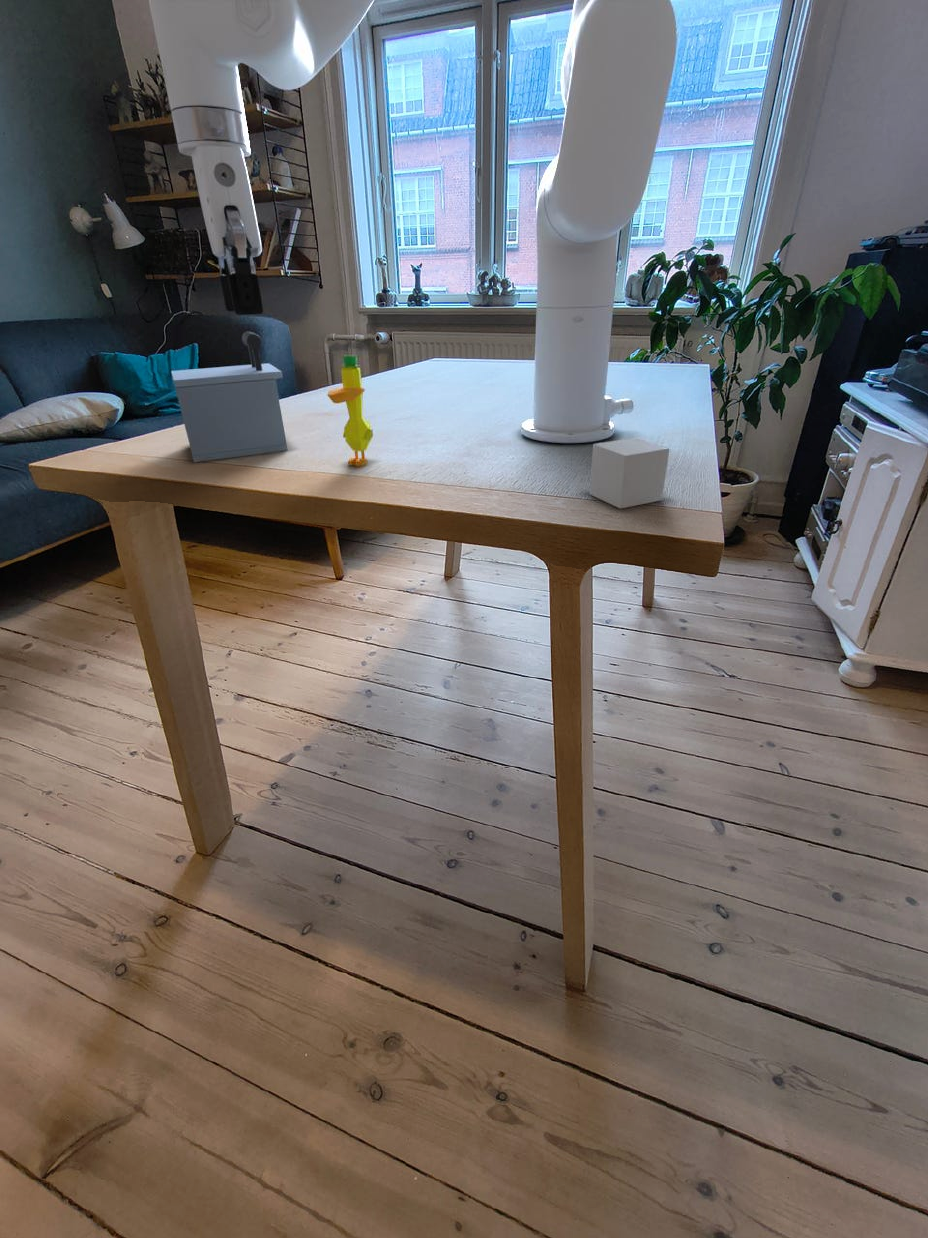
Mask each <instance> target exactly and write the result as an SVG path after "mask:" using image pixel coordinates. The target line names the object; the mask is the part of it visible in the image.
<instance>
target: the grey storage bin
mask: <svg viewBox="0 0 928 1238" xmlns="http://www.w3.org/2000/svg"><path fill="white" fill-rule="evenodd" d="M174 389H175V393H176V397H177V401H178V404H179V405H178V406H179V409H180V412H181V416H182V420H183V424H184V428H185V432H186V436H187V440H188V444H189V447H190V451H191V452H190V453H191V456H192V460H193V462H194V463H199V462H208V461H217V460H222V459H229V458H238V457H239V458H240V457H245V456H246V457H247V456H253V455H263V454H269V453H270V454H271V453H277V452H286V451H288V444H287V438H286V432H285V427H284V426H285V425H284V421H283V415H282V409H281V404H280V398H279V392H278V386H277V380H276V379H266V380H255V381H243V382H232V383H220V384H209V385H198V386H186V387H175V386H174Z"/></svg>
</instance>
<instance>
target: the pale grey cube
mask: <svg viewBox="0 0 928 1238" xmlns="http://www.w3.org/2000/svg"><path fill="white" fill-rule="evenodd" d="M669 454H670V448H669V447H666V446H663V445H659V444H656V443H653V442H650V441H647V440H643V439H641V438H637V437H631V438H623V439H617V440H611V441H610V440H609V441H605V442H604V441H603V442H597V443H593V444H592V456H591V468H590V479H589V492H588V493H589V495H591V496H593V497H594V498H597V499H599V500H601V501H602V502H605V503H607V504H609V505H611V506H613V507H616V508H618V509H621V510H622V509H626V508H630V507H637V506H641V505H646V504H651V503H655V502H660V501H662V500H663V495H664V489H665V481H666V475H667V469H668V463H669V462H668V461H669Z"/></svg>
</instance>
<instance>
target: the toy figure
mask: <svg viewBox="0 0 928 1238" xmlns="http://www.w3.org/2000/svg"><path fill="white" fill-rule="evenodd" d="M342 358H343V364H340V367H342V368H341V369H340V373H341V381H342V386H341V387H337V388H334V389H331V390H329V391H328V392H327V394H326V395H327V397H328V398H329V400H330V401H331V402H332V403H333V404H342V403H345V405H346V408H347V409H346V410H347V413H348V417H349V418H348V420H347V421H346V424H345V425H344V428H343V435H342V436H343V437H342V438H345V442H346V444H347V445H348V446H349V448H350V450H352V451H353V452H354V457H349V460H348V462H347V464H348V466H355V467H362V466H365V465H367V464H368V462H369V461H368V459H367V458H366V456H365V451H366V450H367V449H368V447H369V445H370V443H371V441H372V439H373V437H374V433H373V430H374V429H373V428H371V421H368V422H367V420H366V419H365V418H364V417H363V394H364V393H365V391H366V389H365V388H363V383H362V382H363V381H362V374H361V367H359V364H358V365H357V363H358V355H342ZM359 452H360V455H361V458H360V457H359Z"/></svg>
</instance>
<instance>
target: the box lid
mask: <svg viewBox="0 0 928 1238" xmlns="http://www.w3.org/2000/svg"><path fill="white" fill-rule="evenodd" d="M241 341H242V343H243V344H244V345H245V346H246V347H247V349H248V353H249V354H248V355H249V359H250V364H241V365H230V366H229V365H228V366H219V367H205V368H193V369H179V370H171V371H170V373H171V377H172V382H173V387H174V388H175V387H186V386H198V385H209V384H220V383H232V382H243V381H255V380H266V379H275V380H276V379H277V380H278V379H283V372H282V370H280V369H278V368H277V367H276V366H273V365H272V364H271V363H262V360H261V355H260V349H261V347H262V346H263V340H262V338H261V337H260V336H259V335H258V334H256V333H255V332H252V331H245V332H243V334H242V335H241Z"/></svg>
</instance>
